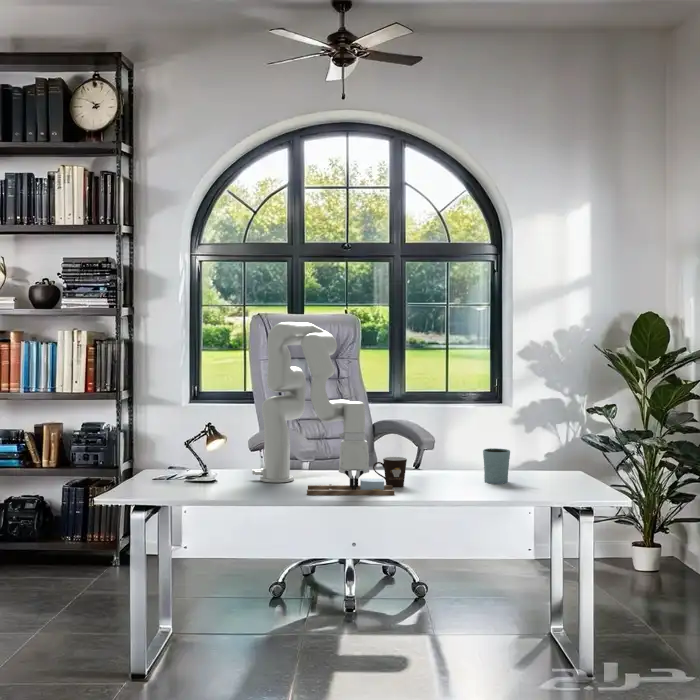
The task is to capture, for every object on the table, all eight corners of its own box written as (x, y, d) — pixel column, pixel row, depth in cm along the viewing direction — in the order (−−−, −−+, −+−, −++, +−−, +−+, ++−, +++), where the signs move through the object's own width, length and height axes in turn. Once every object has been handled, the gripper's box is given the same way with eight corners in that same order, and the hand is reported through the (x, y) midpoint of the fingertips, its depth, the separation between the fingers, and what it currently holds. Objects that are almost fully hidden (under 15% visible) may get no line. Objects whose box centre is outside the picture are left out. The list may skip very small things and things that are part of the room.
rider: (360, 494, 312) (361, 481, 312) (360, 491, 318) (360, 478, 318) (384, 494, 313) (384, 481, 313) (383, 491, 319) (383, 478, 319)
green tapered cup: (500, 479, 344) (500, 447, 344) (515, 483, 335) (515, 451, 335) (477, 480, 340) (477, 449, 340) (492, 485, 331) (492, 452, 331)
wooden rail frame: (306, 494, 310) (307, 489, 310) (307, 489, 321) (307, 484, 321) (394, 495, 311) (394, 489, 311) (392, 489, 321) (392, 484, 321)
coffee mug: (409, 484, 331) (409, 457, 331) (403, 488, 323) (403, 460, 323) (379, 482, 335) (379, 455, 335) (371, 486, 327) (372, 459, 327)
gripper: (332, 438, 311) (332, 491, 312) (376, 438, 311) (375, 491, 312) (332, 435, 319) (332, 487, 319) (375, 435, 319) (374, 487, 319)
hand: (353, 489), depth 316 cm, fingers closed
